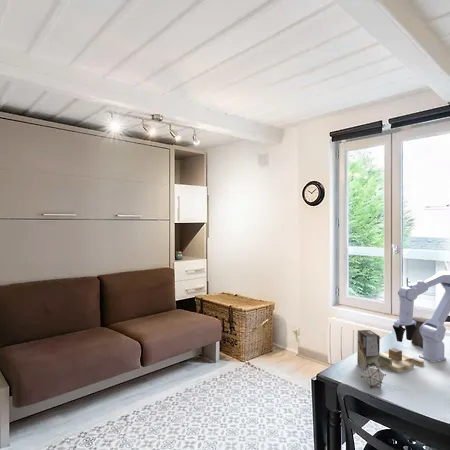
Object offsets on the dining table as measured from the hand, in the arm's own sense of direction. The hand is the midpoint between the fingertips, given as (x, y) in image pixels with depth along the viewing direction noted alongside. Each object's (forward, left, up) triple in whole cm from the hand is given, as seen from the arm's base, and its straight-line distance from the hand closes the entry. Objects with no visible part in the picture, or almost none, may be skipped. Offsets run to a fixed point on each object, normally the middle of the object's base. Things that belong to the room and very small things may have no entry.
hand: (404, 340), depth 167 cm
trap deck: (+6, 0, -10) cm, 11 cm away
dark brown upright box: (-30, -11, -10) cm, 33 cm away
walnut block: (+6, 0, -8) cm, 10 cm away
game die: (+35, +12, -10) cm, 38 cm away
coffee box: (+23, -1, -10) cm, 25 cm away
